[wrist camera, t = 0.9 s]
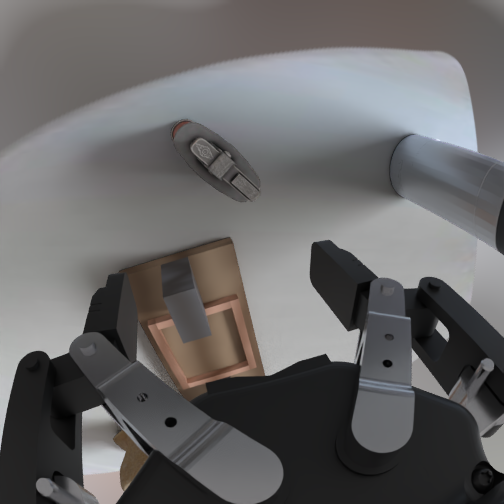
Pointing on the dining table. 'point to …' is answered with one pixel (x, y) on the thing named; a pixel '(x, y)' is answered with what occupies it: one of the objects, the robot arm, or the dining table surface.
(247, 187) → the lighter
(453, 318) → the robot arm
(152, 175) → the dining table surface
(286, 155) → the dining table surface
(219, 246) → the rail
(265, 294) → the dining table surface
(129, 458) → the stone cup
